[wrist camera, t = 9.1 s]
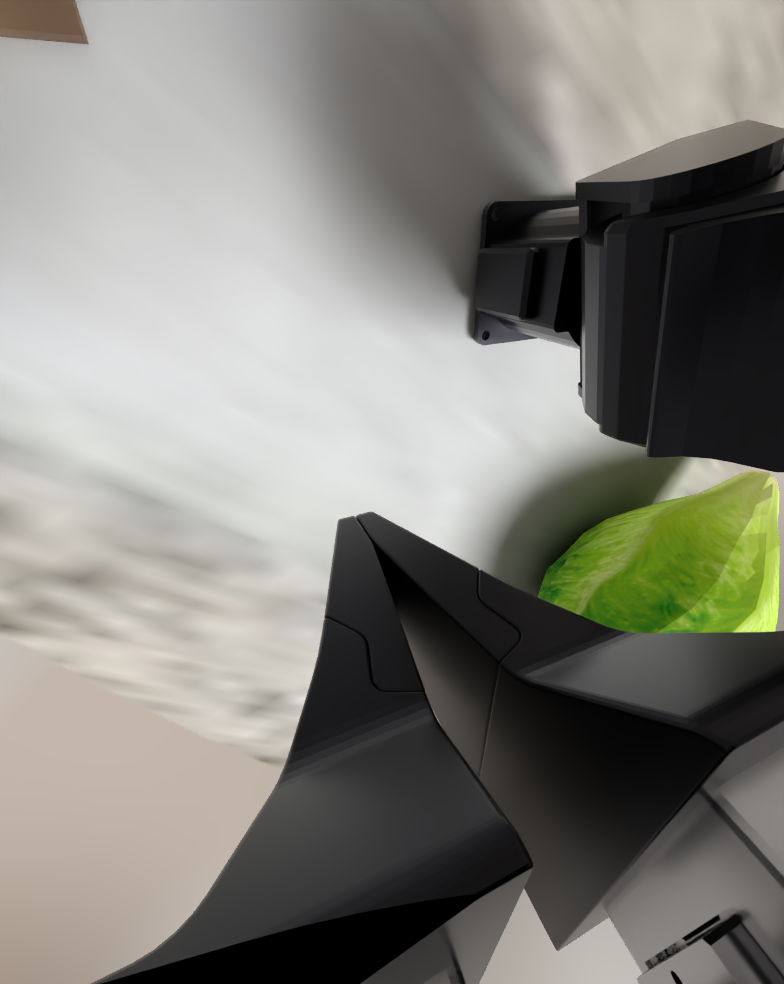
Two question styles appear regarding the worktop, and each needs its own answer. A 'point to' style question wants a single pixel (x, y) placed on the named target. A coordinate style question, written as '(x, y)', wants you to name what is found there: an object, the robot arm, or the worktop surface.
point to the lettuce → (679, 564)
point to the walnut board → (42, 20)
